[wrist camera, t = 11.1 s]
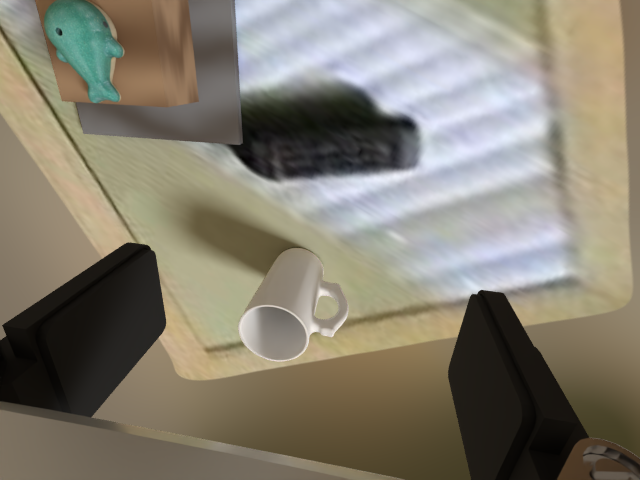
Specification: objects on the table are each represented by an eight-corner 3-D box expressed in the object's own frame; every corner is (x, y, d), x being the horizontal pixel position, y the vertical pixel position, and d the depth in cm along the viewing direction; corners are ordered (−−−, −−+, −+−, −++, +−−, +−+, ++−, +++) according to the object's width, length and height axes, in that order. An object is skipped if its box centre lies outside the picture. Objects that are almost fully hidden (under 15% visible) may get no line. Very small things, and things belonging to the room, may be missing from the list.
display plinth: (40, -73, 32) (-43, -108, 26) (230, -74, 30) (190, -113, 23) (90, 132, 40) (36, 143, 33) (242, 143, 38) (215, 157, 31)
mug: (272, 288, 45) (240, 356, 35) (272, 242, 42) (235, 300, 32) (350, 298, 44) (341, 371, 33) (355, 251, 41) (346, 315, 30)
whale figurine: (121, -2, 27) (84, -12, 24) (145, 101, 30) (115, 104, 27) (55, 4, 28) (10, -5, 24) (85, 102, 31) (49, 106, 28)
